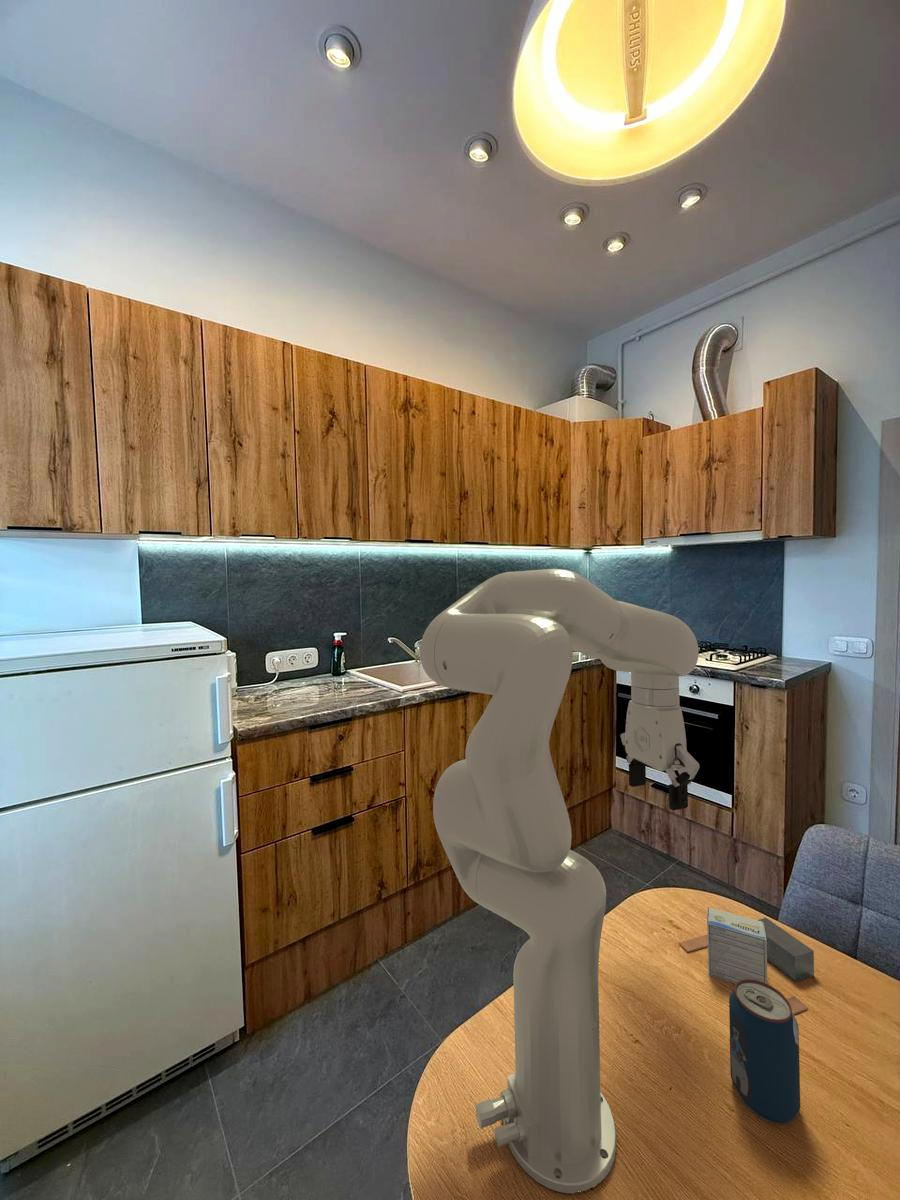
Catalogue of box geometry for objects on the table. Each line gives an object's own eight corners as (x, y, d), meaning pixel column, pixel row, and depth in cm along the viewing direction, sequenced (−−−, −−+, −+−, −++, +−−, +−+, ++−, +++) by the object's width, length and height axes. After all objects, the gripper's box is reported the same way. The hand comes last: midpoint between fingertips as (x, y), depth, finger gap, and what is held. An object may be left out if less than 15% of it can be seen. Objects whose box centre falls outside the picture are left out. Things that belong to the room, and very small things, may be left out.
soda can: (808, 1102, 55) (806, 1001, 55) (789, 1146, 51) (787, 1036, 51) (743, 1057, 60) (741, 966, 60) (721, 1093, 56) (719, 995, 56)
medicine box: (765, 975, 73) (764, 920, 73) (768, 996, 69) (767, 939, 69) (708, 957, 77) (707, 905, 77) (708, 976, 73) (707, 922, 73)
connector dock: (766, 1025, 65) (765, 996, 65) (678, 944, 80) (678, 921, 80) (842, 996, 69) (841, 969, 69) (745, 925, 84) (745, 903, 84)
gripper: (605, 688, 86) (606, 780, 86) (675, 709, 70) (677, 823, 70) (638, 685, 88) (640, 775, 88) (714, 705, 72) (716, 815, 72)
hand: (656, 796), depth 79 cm, fingers open, 9 cm apart
